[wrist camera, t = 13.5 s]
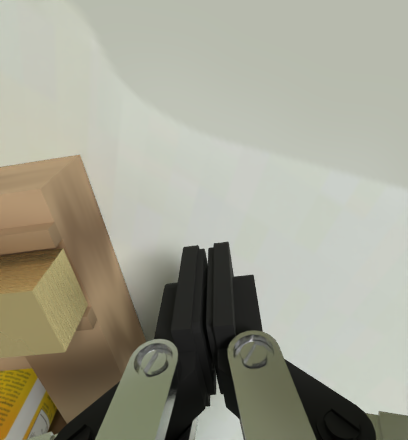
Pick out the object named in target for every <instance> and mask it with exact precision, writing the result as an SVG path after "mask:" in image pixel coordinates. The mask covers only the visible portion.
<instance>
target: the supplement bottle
mask: <svg viewBox="0 0 408 440" xmlns="http://www.w3.org/2000/svg"><path fill="white" fill-rule="evenodd" d="M56 411H57V407H56V406H55V404H54V402H53V401H52V399H51V398H50V396H49V394H48V393H47V391H46V390H45V388H44V386H43V385H42V383H41V382H40V380H39V379H38V377H37V375H36V374H35V372H34V371H33V369H32V368H30V369H18V370H6V371H0V440H25V439H28V438H32V437H35V436H38V435H42V434H45V433H47V432H48V429H49V427H50V425H51V423H52V420H53V418H54V416H55V413H56Z"/></svg>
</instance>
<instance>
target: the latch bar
mask: <svg viewBox="0 0 408 440" xmlns="http://www.w3.org/2000/svg"><path fill="white" fill-rule="evenodd" d="M87 306H88V303H87V301H86V299H85V297H84V294H83V292H82V290H81V288H80V285H79V283H78V281H77V279H76V276H75V274H74V272H73V270H72V267H71V265H70V263H69V261H68V258H67V256H66V254H65V251H64V249H63V248H61V249H53V250H45V251H37V252H29V253H21V254H13V255H5V256H0V358H7V357H18V356H29V355H40V354H51V353H62V352H66V350H67V348H68V345H69V343H70V341H71V339H72V337H73V335H74V333H75V331H76V329H77V327H78V325H79V322H80V320H81V318H82V316H83V314H84V312H85V310H86V308H87Z"/></svg>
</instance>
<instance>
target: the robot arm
mask: <svg viewBox="0 0 408 440" xmlns="http://www.w3.org/2000/svg"><path fill="white" fill-rule="evenodd" d="M216 375H217V379H218V384H219V389H220V393H221V394H224V399H225V404H226V407H227V408H228V409H229V410H230V411H231V412H232V413H234V414H235V415H236V416H237V417H238V418H239V419H240V424H241V429H242V434H243V438H244V440H408V416H407V415H400V414H394V413H388V412H381V411H379V412H378V415H374V414H368V413H365V412H364V411H362V410H361V409H360V408H359V407H358V406H356V405H355V404H353V403H352V402H350V401H349V400H347V399H346V398H344V397H342V396H341V395H339V394H338V393H336V392H335V391H333V390H332V389H330V388H329V387H327V386H325V385H324V384H322V383H321V382H319V381H318V380H316V379H315V378H313V377H312V376H310V375H308V374H307V373H305V372H304V371H302V370H301V369H299V368H298V367H296V366H295V365H293V364H291V363H290V362H288V361H287V360H285V359H284V357H283V355H282V352H281V350H280V347H279V345H278V343H277V342H276V340H275V339H274V338H273V337H272V336H270V335H269V334H267V333H265V332H263V331H262V325H261V319H260V312H259V306H258V300H257V294H256V287H255V281H254V275H246V276H237V277H234V275H233V268H232V262H231V255H230V248H229V242H223V243H214V247H213V248H209V249H208V263H207V258H206V253H205V249H199V246H198V245H197V246H189V247H184V248H183V253H182V260H181V266H180V273H179V279H178V283H172V284H166V285H165V288H164V293H163V298H162V303H161V307H160V312H159V317H158V322H157V327H156V332H155V337H154V339H153V340H151V341H148V342H145V343H144V344H142V345H141V346H139V347H138V348H137V349H136V350H135V351H134V352H133V354H132V356H131V357H130V359H129V362H128V364H127V366H126V369H125V371H124V373H123V376H122V378H121V380H120V381H119V382H118V383H117V384H116V385H114V386H113V387H112V388H111V389H110V390H108V391H107V392H106V393H105V394H103V395H102V396H101V397H100V398H98V399H97V400H96V401H95V402H94V403H92V404H91V405H90V406H89V407H87V408H86V409H85V410H84V411H82V412H81V413H80V414H79V415H78V416H76V417H75V418H74V419H73V420H71V421H70V422H69V423H68V424H67V425H66V426H65V427H64V428H63V429H62V430H61V431H60V432H59V433H58V434H55V435H53V433H52V432H48V433H45V434H42V435H38V436H35V437H32V438H28V439H25V440H195V435H196V429H197V416H198V415H199V414H200V413H201V412H202V411H203V410H204V409H205V406H210V395H216Z"/></svg>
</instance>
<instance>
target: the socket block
mask: <svg viewBox="0 0 408 440" xmlns="http://www.w3.org/2000/svg"><path fill="white" fill-rule="evenodd" d="M61 248H63V249H64V251H65V254H66V256H67V258H68V261H69V263H70V265H71V267H72V270H73V272H74V274H75V276H76V279H77V281H78V283H79V285H80V288H81V290H82V292H83V294H84V297H85V299H86V301H87V303H88V306H87V308H86V310H85V312H84V314H83V316H82V318H81V320H80V322H79V325H78V327H77V329H76V331H75V333H74V335H73V337H72V339H71V341H70V343H69V345H68V348H67V350H66V352H62V353H51V354H40V355H29V356H18V357H7V358H0V371H6V370H18V369H30V368H32V369H33V371H34V372H35V374H36V375H37V377H38V379H39V380H40V382H41V383H42V385H43V386H44V388H45V390H46V391H47V393H48V394H49V396H50V398H51V399H52V401H53V402H54V404H55V406H56V407H57V411H56V413H55V416H54V418H53V420H52V423H51V425H50V427H49V429H48V432H52V433H53V435H55V434H58V433H59V432H60V431H61V430H62V429H63V428H64V427H65V426H66V425H67V424H68V423H69V422H70V421H71V420H73V419H74V418H75V417H76V416H78V415H79V414H80V413H81V412H82V411H84V410H85V409H86V408H87V407H89V406H90V405H91V404H92V403H94V402H95V401H96V400H97V399H98V398H100V397H101V396H102V395H103V394H105V393H106V392H107V391H108V390H110V389H111V388H112V387H113V386H114V385H116V384H117V383H118V382H119V381H120V380H121V378H122V376H123V373H124V371H125V369H126V366H127V364H128V362H129V359H130V357H131V356H132V354H133V352H134V351H135V350H136V349H137V348H138V347H139V346H141V345H142V344H144V343H145V342H146V340H145V337H144V334H143V331H142V328H141V326H140V323H139V320H138V317H137V314H136V311H135V309H134V306H133V303H132V300H131V297H130V295H129V292H128V289H127V286H126V283H125V281H124V278H123V275H122V272H121V269H120V266H119V264H118V261H117V258H116V255H115V252H114V250H113V247H112V244H111V241H110V238H109V235H108V233H107V230H106V227H105V224H104V221H103V219H102V216H101V213H100V210H99V207H98V204H97V202H96V199H95V196H94V193H93V190H92V188H91V185H90V182H89V179H88V176H87V173H86V171H85V168H84V165H83V162H82V159H81V157H80V155H75V156H69V157H63V158H56V159H50V160H43V161H37V162H31V163H24V164H18V165H11V166H5V167H0V256H5V255H13V254H21V253H29V252H37V251H45V250H53V249H61ZM48 432H47V433H48Z"/></svg>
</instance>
